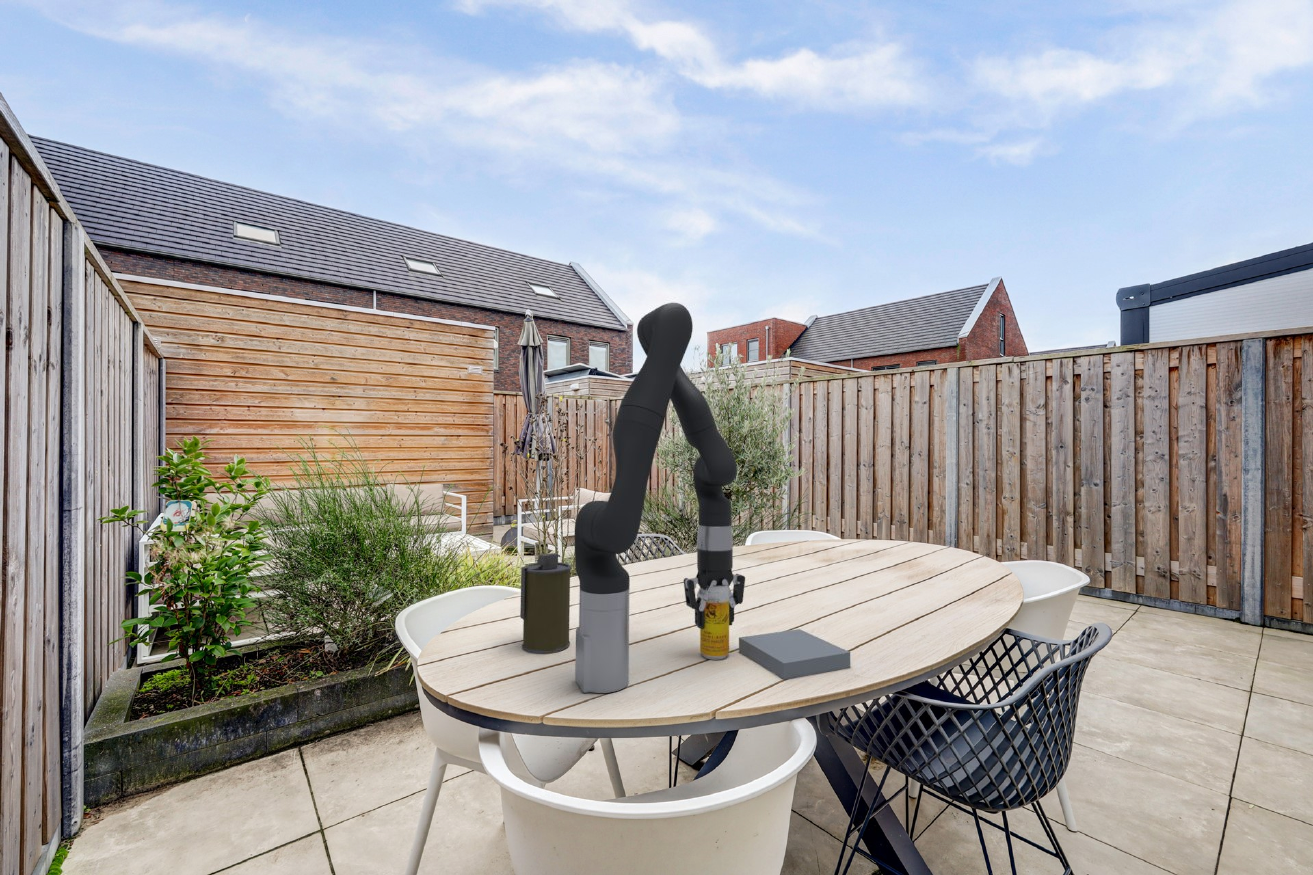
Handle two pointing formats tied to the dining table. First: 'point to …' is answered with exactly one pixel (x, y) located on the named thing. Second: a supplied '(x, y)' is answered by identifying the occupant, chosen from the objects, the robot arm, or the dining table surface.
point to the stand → (794, 653)
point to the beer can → (716, 624)
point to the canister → (545, 605)
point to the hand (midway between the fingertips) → (714, 625)
